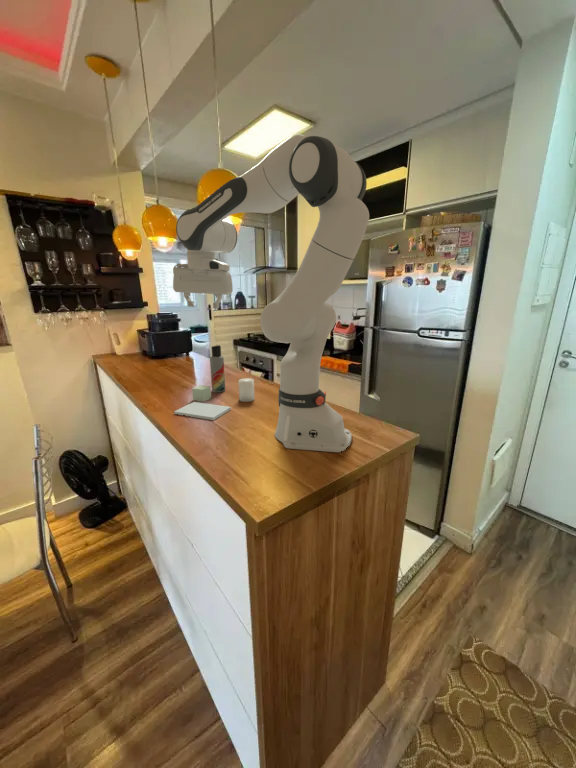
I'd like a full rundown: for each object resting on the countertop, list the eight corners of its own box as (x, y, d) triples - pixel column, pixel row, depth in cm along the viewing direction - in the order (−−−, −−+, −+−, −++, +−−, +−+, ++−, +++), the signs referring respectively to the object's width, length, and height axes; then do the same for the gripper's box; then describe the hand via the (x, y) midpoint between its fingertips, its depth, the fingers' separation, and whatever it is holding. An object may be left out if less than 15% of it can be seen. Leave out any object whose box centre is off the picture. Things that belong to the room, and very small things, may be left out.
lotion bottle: (222, 393, 131) (219, 346, 126) (209, 392, 132) (206, 346, 127) (227, 389, 137) (225, 344, 131) (215, 388, 138) (212, 344, 132)
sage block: (211, 398, 125) (210, 386, 124) (203, 401, 121) (202, 389, 119) (200, 396, 127) (199, 385, 125) (193, 400, 122) (192, 388, 121)
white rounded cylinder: (257, 398, 125) (256, 379, 123) (250, 402, 120) (249, 382, 118) (243, 396, 127) (243, 377, 125) (236, 400, 122) (235, 381, 120)
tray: (230, 409, 112) (230, 406, 112) (213, 420, 102) (213, 417, 102) (194, 404, 118) (194, 401, 117) (174, 414, 108) (174, 411, 107)
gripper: (167, 262, 100) (170, 306, 104) (226, 264, 96) (227, 309, 101) (178, 264, 106) (180, 305, 110) (234, 265, 102) (234, 308, 106)
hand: (203, 307), depth 105 cm, fingers open, 8 cm apart
